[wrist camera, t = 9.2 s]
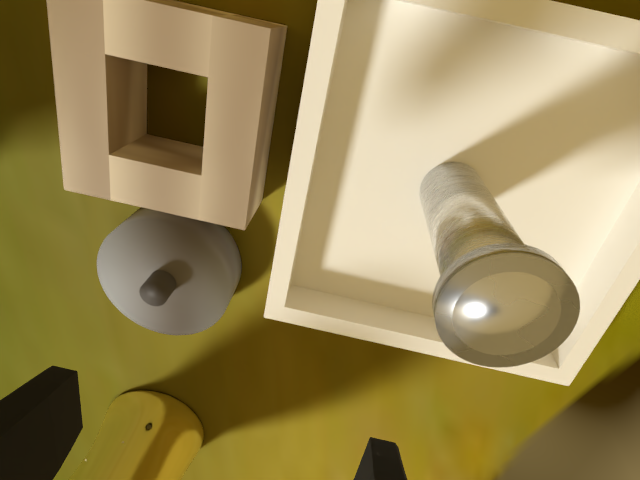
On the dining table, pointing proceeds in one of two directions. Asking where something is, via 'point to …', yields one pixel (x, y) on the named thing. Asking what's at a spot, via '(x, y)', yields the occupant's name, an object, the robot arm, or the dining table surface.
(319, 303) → the tray
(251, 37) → the block
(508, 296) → the pin
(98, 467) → the beer glass
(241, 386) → the dining table surface
